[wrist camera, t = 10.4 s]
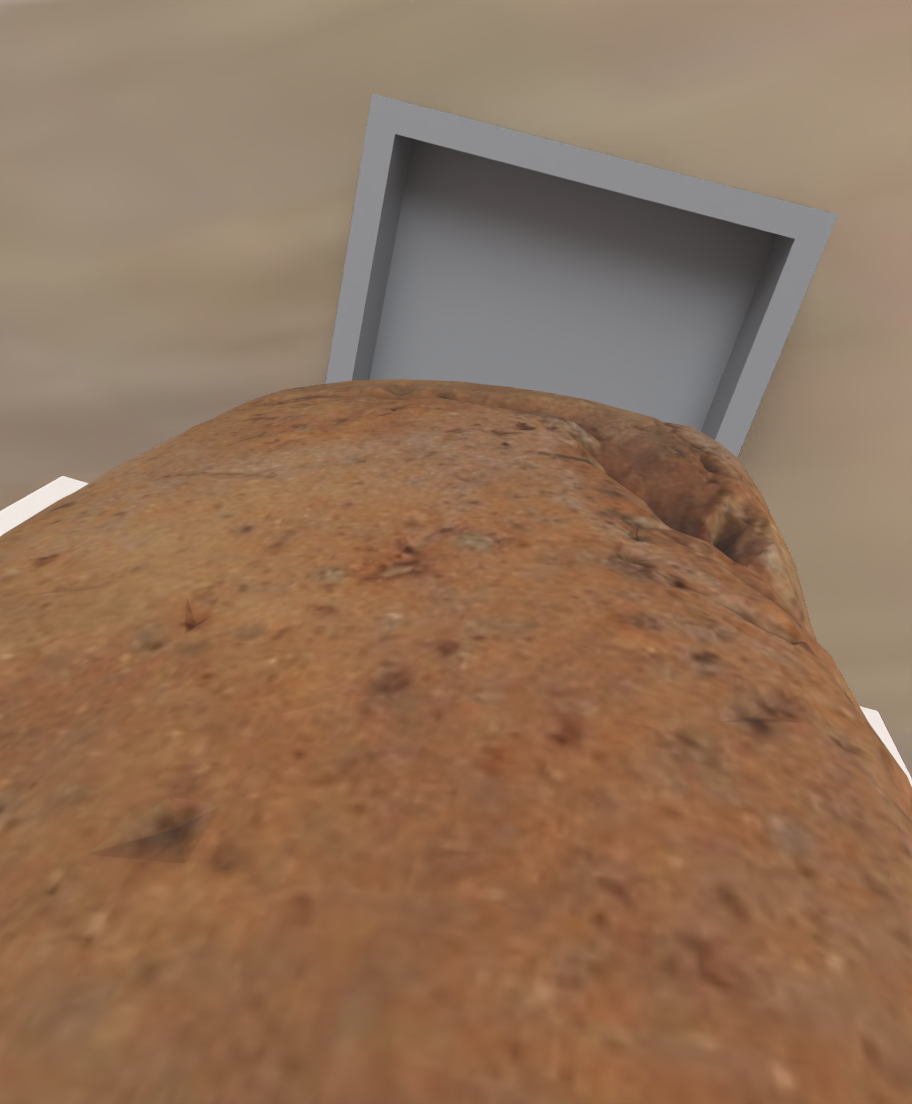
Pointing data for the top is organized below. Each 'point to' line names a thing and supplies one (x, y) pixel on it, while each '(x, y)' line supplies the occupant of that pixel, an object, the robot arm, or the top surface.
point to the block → (437, 774)
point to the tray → (566, 272)
